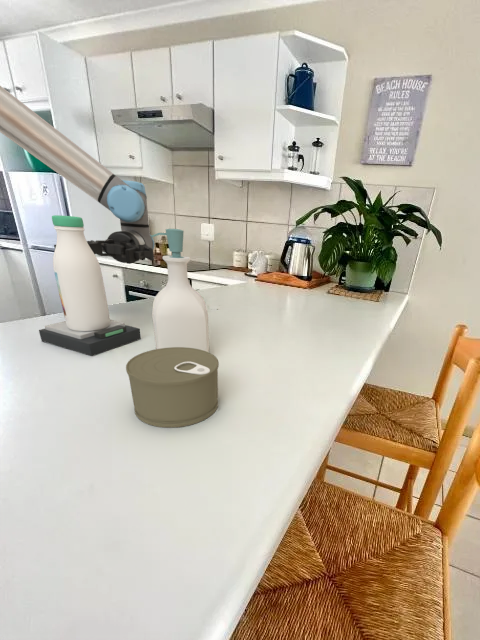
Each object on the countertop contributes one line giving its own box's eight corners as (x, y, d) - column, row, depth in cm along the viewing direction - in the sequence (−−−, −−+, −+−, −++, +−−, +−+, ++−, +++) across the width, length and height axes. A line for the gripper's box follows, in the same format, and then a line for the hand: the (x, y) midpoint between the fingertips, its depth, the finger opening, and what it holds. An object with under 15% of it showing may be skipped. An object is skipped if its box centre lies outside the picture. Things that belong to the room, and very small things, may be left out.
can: (172, 380, 54) (169, 341, 51) (234, 398, 51) (234, 357, 47) (113, 413, 44) (104, 367, 41) (184, 438, 40) (180, 390, 37)
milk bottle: (119, 324, 68) (102, 218, 59) (91, 334, 61) (66, 217, 52) (88, 319, 70) (67, 215, 61) (57, 328, 63) (28, 213, 54)
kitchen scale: (41, 341, 65) (37, 325, 63) (94, 327, 75) (91, 312, 73) (91, 356, 60) (88, 339, 59) (141, 338, 70) (139, 323, 69)
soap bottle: (158, 346, 67) (145, 225, 57) (205, 345, 70) (201, 229, 60) (157, 365, 59) (141, 227, 49) (210, 362, 62) (206, 232, 52)
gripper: (176, 264, 89) (157, 277, 70) (79, 258, 86) (32, 269, 67) (173, 234, 86) (153, 239, 67) (72, 226, 82) (21, 229, 64)
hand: (92, 254), depth 67 cm, fingers open, 13 cm apart
